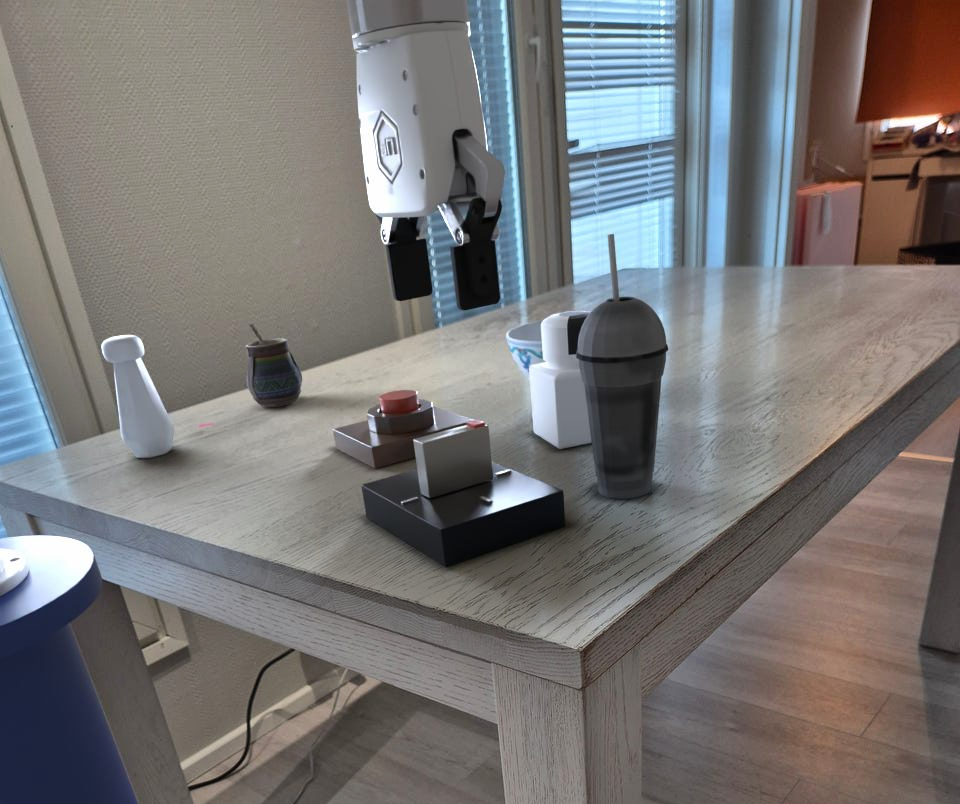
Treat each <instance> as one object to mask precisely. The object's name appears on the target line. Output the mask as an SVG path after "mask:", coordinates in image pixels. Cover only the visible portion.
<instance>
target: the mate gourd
mask: <svg viewBox="0 0 960 804" xmlns="http://www.w3.org/2000/svg"><path fill="white" fill-rule="evenodd" d="M248 325H249V327H250V329H251V331H252V332H253V334H254V336H255V337H256V339H257V340H256V341H252V342H249V343H247V344H246V345H245V350H246V355H247V356H248V363H247V372H246V385H247V388H248V391H249V393H250V395H251V396H252V399H253V400H254V401H255V402H256V403H257V404H258V405H259V406H261V407H262V408H264V409H265V408H278V407H279V408H280V407H284V406H285V407H286V406H288V405H291V404H293V403H295V402H296V401H297V400H298V398H299V397H300V395H301V392H302V385H303V384H302V383H303V374H302V371H301V370H300V369H301V368H300V367H299V365H298V363H297V362H296V360H295V358H294V356H293V354H292V353H291V351H290V345H289V340H288V339H287V338H285V337H278V338H267V339H263V338H262V336H261V335H260V334H259V331H258V330H257V329H256V327H255V326H254V324H253V323H252V324H248Z"/></svg>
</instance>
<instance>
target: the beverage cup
mask: <svg viewBox="0 0 960 804" xmlns="http://www.w3.org/2000/svg"><path fill="white" fill-rule="evenodd" d="M606 235H607V236H606V237H607V246H608V247H607V248H608V258H609V259H608V260H609V270H610V280H611V281H610V282H611V294H612V296H611V298H608V299H605V300H604V301H601V302H600V303H599V304H597V305H596V306H595V307H594V308H593V309H592V310H590V311H591V312H590V314H589V315H588V316H587V318H586V319H585V321H584V323H583V325H582V327H581V330H580V334H579V339H578V350H577V352H576V358H577V359H579V368H580V372H581V377H582V381H583V383H584V386H585V394H586V401H587V409H588V417H589V425H590V433H591V441H592V443H591V448H592V456H593V457H592V458H593V463H594V472H595V477H596V480H597V481H596V482H597V487H598V494H600V496H603V497H605V498H609V499H614V500H615V499H616V500H617V499H619V500H625V499H634V498H639V497H640V498H641V497H642V496H644V495H648V494H649V493H650V492H651V490H652V481H653V478H654V477H653V476H654V471H655V463H656V462H655V461H656V450H657V449H656V448H657V437H658V425H659V414H660V413H659V412H660V401H661V388H662V379H663V378H662V377H663V376H664V374H665V373H664V372H665V367H666V364H667V352H668V351H669V346H668V344H667V335H666V331H665V327H664V325H663V322H662V320H661V319H660V316H659V315H658V313H657V312H656V311H655V309H654V308H653V307H652V306H650V304H649V303H647V302H645V301H644V300H642V299H641V298H638V297H634V296H620V291H619V290H620V289H619V277H618V266H617V253H616V243H615V242H616V241H615V233H611V234H610V233H609V234H606Z"/></svg>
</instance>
